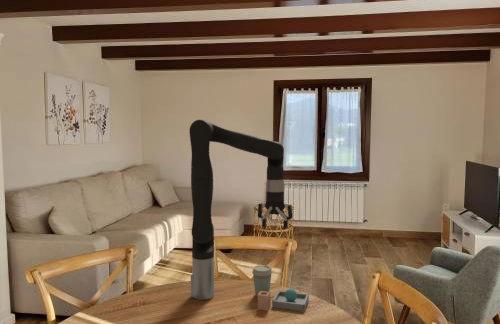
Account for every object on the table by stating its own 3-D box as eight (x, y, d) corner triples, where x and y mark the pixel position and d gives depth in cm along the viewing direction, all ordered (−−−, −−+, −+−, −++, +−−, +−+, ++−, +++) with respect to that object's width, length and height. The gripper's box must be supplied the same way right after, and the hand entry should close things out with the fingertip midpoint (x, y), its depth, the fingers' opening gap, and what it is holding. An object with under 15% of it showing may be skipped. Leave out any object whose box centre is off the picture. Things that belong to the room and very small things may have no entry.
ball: (283, 302, 164) (283, 290, 163) (285, 297, 169) (286, 286, 168) (295, 304, 162) (295, 292, 162) (297, 299, 167) (298, 287, 167)
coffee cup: (270, 300, 169) (270, 272, 168) (250, 298, 171) (250, 270, 170) (273, 292, 178) (273, 265, 177) (254, 290, 179) (254, 264, 178)
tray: (272, 307, 162) (272, 300, 162) (278, 296, 173) (278, 290, 172) (304, 311, 158) (304, 304, 158) (308, 300, 169) (308, 294, 169)
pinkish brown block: (257, 309, 160) (257, 294, 160) (260, 305, 164) (260, 290, 164) (267, 310, 159) (267, 296, 159) (270, 306, 163) (270, 292, 163)
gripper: (256, 190, 166) (256, 229, 167) (290, 192, 161) (290, 232, 163) (260, 188, 173) (260, 225, 174) (293, 189, 169) (293, 227, 170)
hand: (274, 228), depth 168 cm, fingers open, 8 cm apart
